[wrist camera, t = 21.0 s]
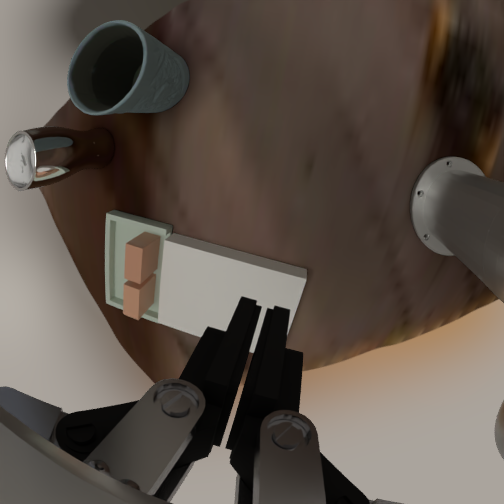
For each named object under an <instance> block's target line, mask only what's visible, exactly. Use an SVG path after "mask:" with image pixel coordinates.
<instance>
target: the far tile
mask: <svg viewBox="0 0 504 504" xmlns="http://www.w3.org/2000/svg"><path fill="white" fill-rule="evenodd" d="M155 282H156V274H154V273H152V274H151V275H150V276H149V277H148V278H147V279H146V280H144V281H143V282H142V283H141V284H138V283H136V282H133V281H130V280H128V281H127V282H125V283H124V289H123V314H125V315H127V316H129V317H132V318H134V319H137V320H139V319H140V318H141V317H142V315H143V314H144V313H145V312H146V311H147V310H148V309H149V308H150V306H151V305H152V304H153V303H154V293H155Z"/></svg>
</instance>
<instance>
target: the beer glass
mask: <svg viewBox="0 0 504 504" xmlns="http://www.w3.org/2000/svg"><path fill="white" fill-rule="evenodd" d="M113 154H114V140H113V137H112V135H111V134H110V132H109V131H108V130H106V129H104V128H94V129H91V130H87V131H79V130H74V129H69V128H64V127H55V126H54V127H40V128H34V129H29V130H25V131H19V132H16V133H15V134H14V135H13V136H12V137H11V139H10V141H9V143H8V145H7V149H6V154H5V169H6V174H7V177H8V180H9V182H10V183H11V185H12V186H13V187H14V188H15V189H16V190H18V191H24V190H27V189H33V188H38V187H43V186H47V185H51V184H54V183H57V182H59V181H61V180H63V179H66V178H68V177H70V176H71V175H73V174H75V173H77V172H79V171H81V170H84V169H101V168H104V167H105V166H107V165H108V164H109V162H110V161H111V159H112V157H113Z"/></svg>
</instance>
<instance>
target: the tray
mask: <svg viewBox="0 0 504 504" xmlns="http://www.w3.org/2000/svg"><path fill="white" fill-rule="evenodd" d="M172 229H173V225H170V224H166V223H162V222H158V221H155V220H151V219H147V218H143V217H140V216H136V215H132V214H128V213H124V212H121V211H117V210H113V211H110V212H108V213H106V232H105V287H106V303H107V304H110V305H112V306H115V307H117V308H120V309H122V310H123V289H124V283H125V282H127V281H128V280H127V279H125V278H124V270H125V247H126V243H127V242H129V241H130V240H132V239H133V238H135V237H137V236H138V235H140V234H142V233H143V232H148V233H152V234H155V235H159V236H161V237H160V246H159V256H158V266H157V269H156V270H155V271H154V272H153V273H154V274H156V282H155V293H154V303H153V304H152V305H151V306H150V308H149V309H148V310H147V311H146V312H145V313H144V314H143V315H142V317H143V318H145V319H148V320H151V321H153V322H156V323H158V311H159V296H160V282H161V270H162V259H163V249H164V240H165V239H166V238H168V237H169V236H171V235H172Z"/></svg>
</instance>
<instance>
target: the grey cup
mask: <svg viewBox="0 0 504 504" xmlns="http://www.w3.org/2000/svg"><path fill="white" fill-rule="evenodd" d="M67 80H68V81H67V85H68V92H69V95H70V98H71V100H72V102H73V103H74V105H75V106H76V107H77V108H79V109H80V110H81V111H82V112H84V113H87V114H90V115H106V114H113V113H125V112H132V113H157V112H162V111H165V110H167V109H169V108H171V107H173V106H174V105H175V104H177V102H179V101H180V100H181V99H182V97H183V96H184V94H185V92H186V90H187V88H188V84H189V69H188V66H187V64H186V62H185V61H184V59H183V58H182V57H181V56H179V55H178V54H176V53H175V52H174V51H172V50H171V49H170V48H168V47H167V46H166V45H164V44H162V43H161V42H160V41H159V40H157V39H156V38H154V37H153V36H151V35H150V34H148V33H146V32H145V31H144V30H142V29H141V28H139V27H137V26H136V25H134V24H132V23H130V22H127V21H124V20H117V21H111V22H108V23H105V24H103V25H101V26H99V27H97V28H96V29H94V30H93V31H92V32H90V33H89V34H88V35H87V36H86V38H84V40H83V41H82V42H81V44H80V45H79V46H78V48H77V50H76V51H75V53H74V55H73V58H72V60H71V63H70V66H69V71H68V77H67Z"/></svg>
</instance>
